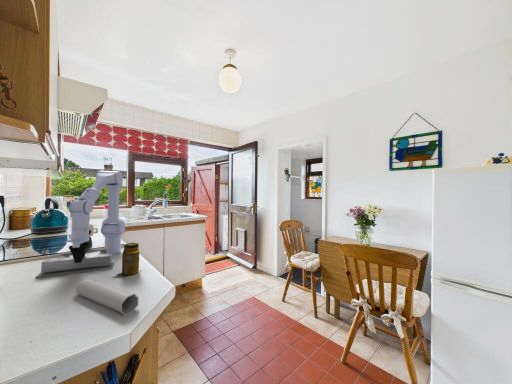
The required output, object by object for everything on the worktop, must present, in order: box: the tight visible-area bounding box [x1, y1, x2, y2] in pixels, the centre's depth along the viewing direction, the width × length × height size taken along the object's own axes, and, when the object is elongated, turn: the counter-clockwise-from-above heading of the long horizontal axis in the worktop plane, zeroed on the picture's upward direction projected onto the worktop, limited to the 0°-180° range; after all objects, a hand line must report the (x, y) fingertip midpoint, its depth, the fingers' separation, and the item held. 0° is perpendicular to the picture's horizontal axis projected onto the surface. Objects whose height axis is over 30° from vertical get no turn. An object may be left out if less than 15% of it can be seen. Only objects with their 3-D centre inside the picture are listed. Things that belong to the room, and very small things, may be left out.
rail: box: [40, 254, 112, 273], centre depth 89 cm, size 4×22×4 cm, turn 120°
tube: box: [75, 278, 139, 316], centre depth 65 cm, size 5×5×25 cm
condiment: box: [113, 242, 144, 279], centre depth 86 cm, size 7×8×12 cm
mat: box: [34, 261, 115, 279], centre depth 89 cm, size 8×24×1 cm, turn 120°
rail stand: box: [57, 248, 107, 258], centre depth 97 cm, size 8×20×4 cm, turn 120°
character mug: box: [87, 223, 99, 249], centre depth 122 cm, size 11×7×13 cm, turn 125°
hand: (79, 261), depth 89 cm, fingers closed on rail, 4 cm apart
